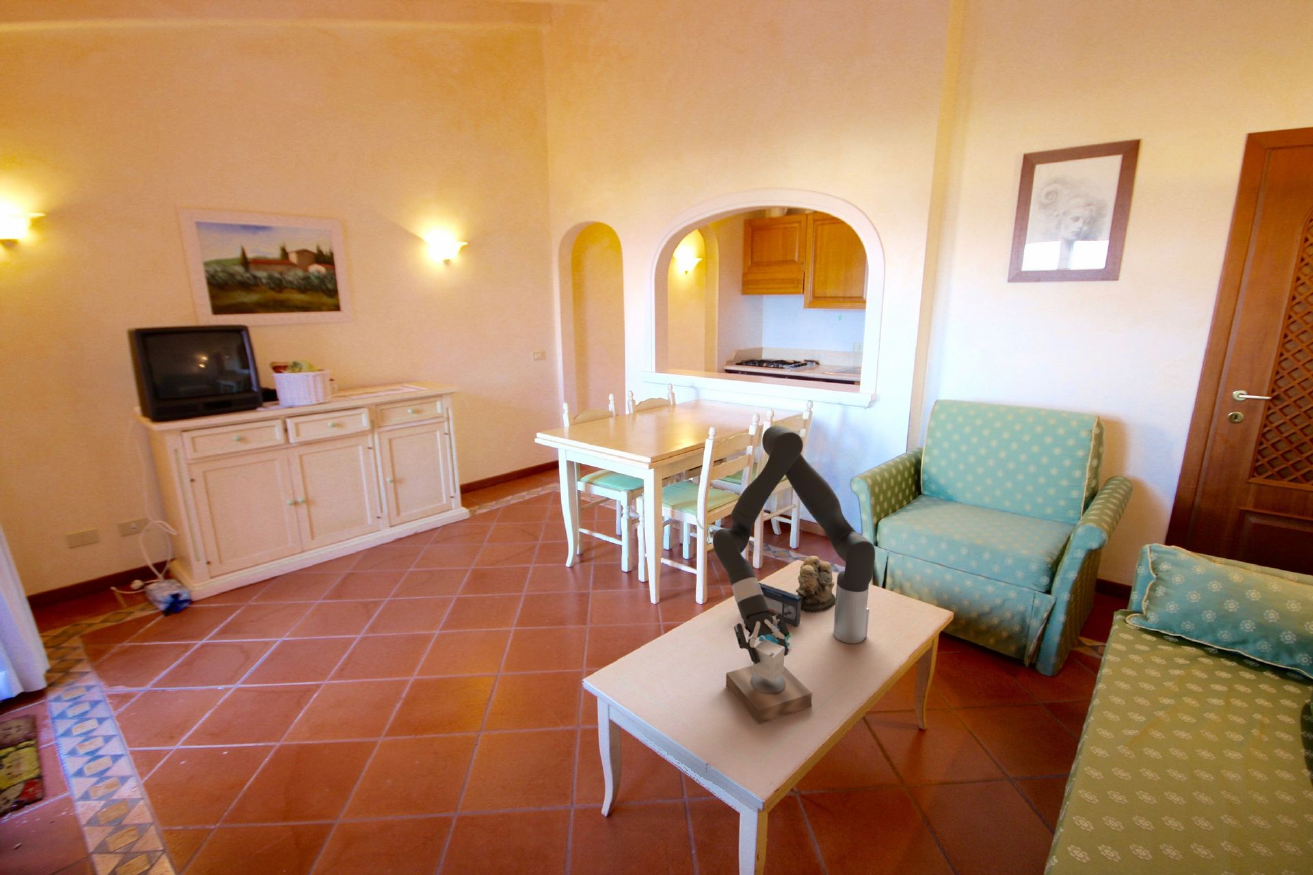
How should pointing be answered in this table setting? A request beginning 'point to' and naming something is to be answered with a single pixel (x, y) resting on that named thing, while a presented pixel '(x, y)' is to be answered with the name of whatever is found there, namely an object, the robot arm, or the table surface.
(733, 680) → the platform
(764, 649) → the skincare box
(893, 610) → the table surface
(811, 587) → the owl figurine
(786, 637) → the gear
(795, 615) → the vhs cassette tape
